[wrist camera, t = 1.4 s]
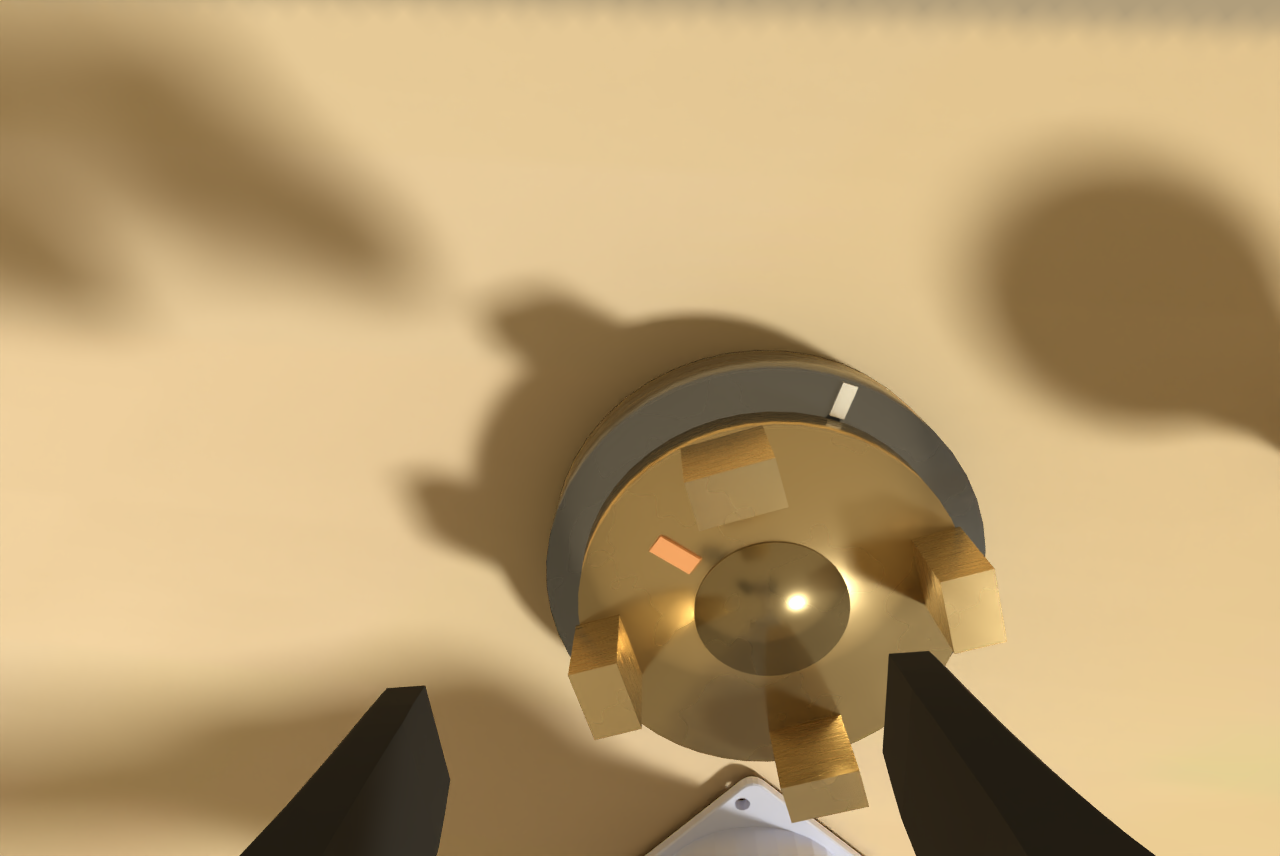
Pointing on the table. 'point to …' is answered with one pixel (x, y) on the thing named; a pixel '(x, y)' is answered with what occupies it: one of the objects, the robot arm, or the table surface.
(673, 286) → the table surface
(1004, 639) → the brass lugged disc
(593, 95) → the table surface
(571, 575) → the cap base
